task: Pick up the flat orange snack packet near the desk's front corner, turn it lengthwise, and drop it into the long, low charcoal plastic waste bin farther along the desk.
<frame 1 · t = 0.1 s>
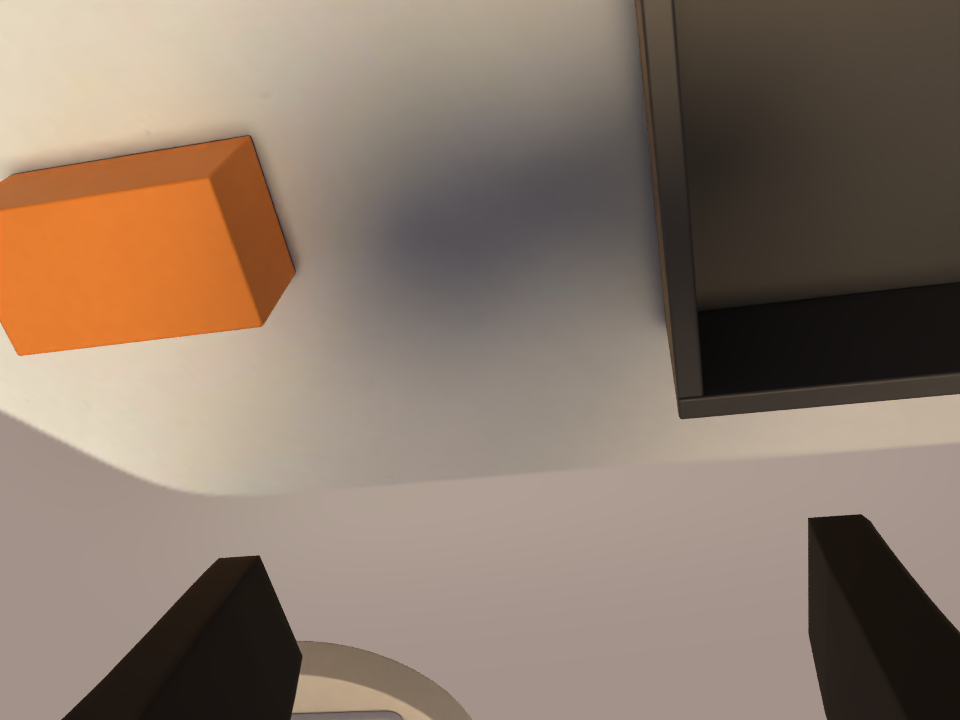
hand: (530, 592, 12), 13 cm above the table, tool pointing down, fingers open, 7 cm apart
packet: (155, 224, 25), on the table
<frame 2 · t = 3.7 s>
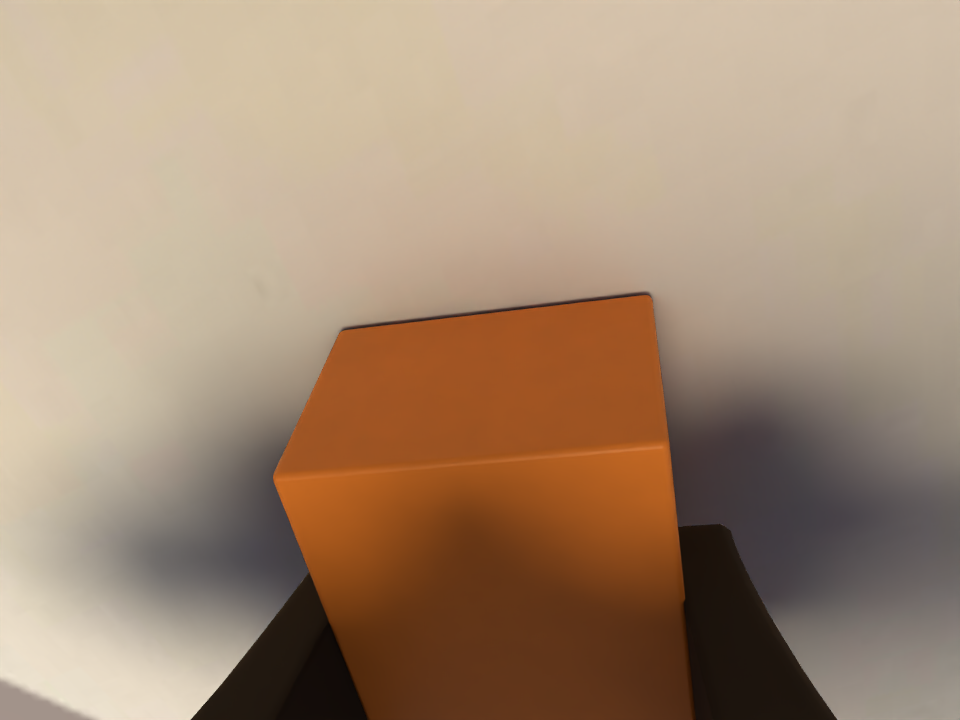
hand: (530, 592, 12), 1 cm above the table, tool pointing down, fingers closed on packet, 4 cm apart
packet: (533, 520, 13), on the table, touching gripper
when the fingers open (4 cm above the table, at t = 12.6 s): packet drops 2 cm, resting on bin.
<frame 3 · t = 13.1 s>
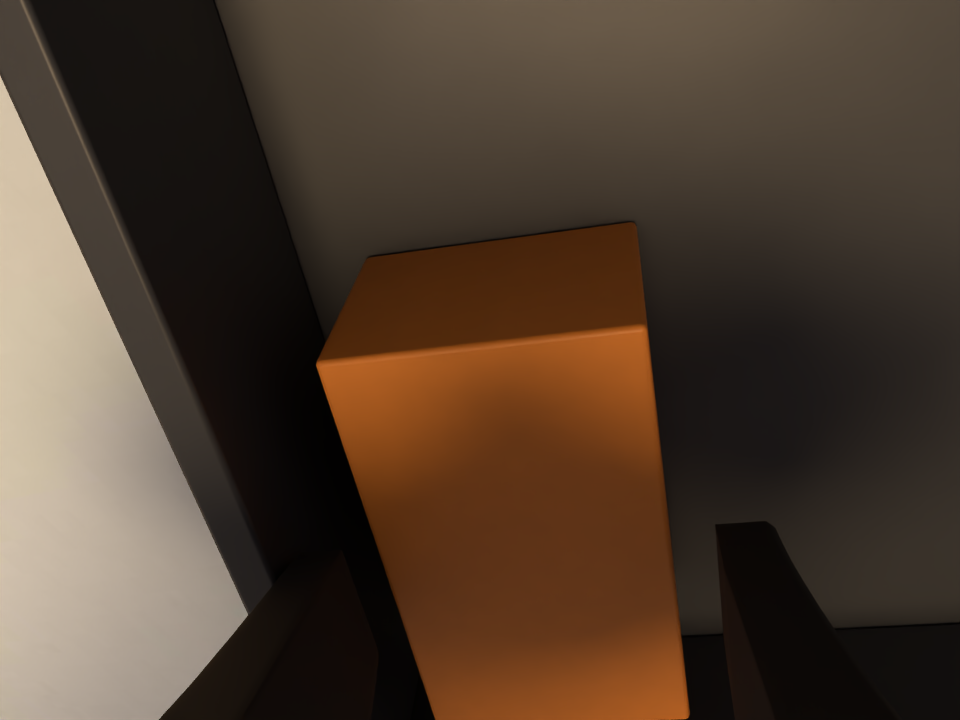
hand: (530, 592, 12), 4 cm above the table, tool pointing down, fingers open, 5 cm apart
bin: (924, 244, 13), on the table
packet: (534, 431, 15), resting on bin
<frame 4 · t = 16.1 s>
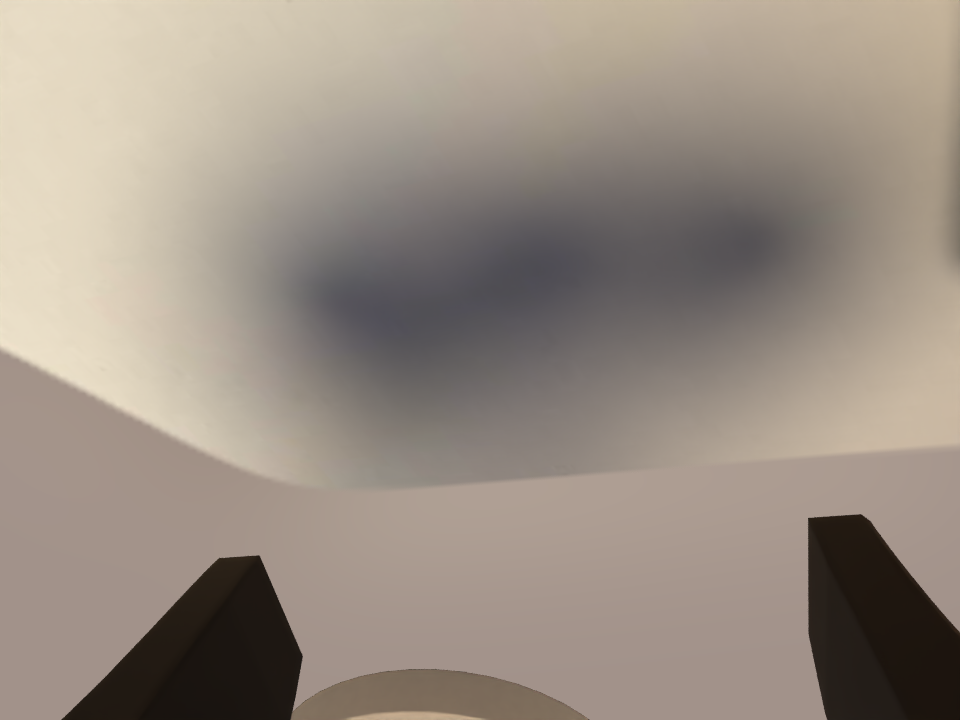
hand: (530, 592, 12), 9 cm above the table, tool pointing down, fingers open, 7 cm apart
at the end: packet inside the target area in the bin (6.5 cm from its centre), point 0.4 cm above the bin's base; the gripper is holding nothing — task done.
